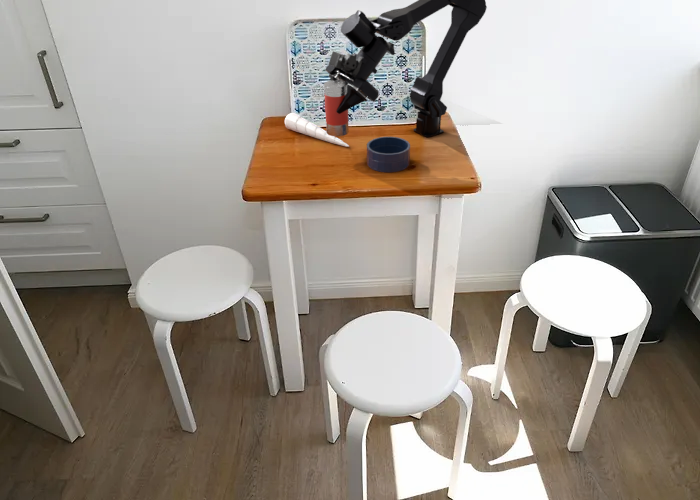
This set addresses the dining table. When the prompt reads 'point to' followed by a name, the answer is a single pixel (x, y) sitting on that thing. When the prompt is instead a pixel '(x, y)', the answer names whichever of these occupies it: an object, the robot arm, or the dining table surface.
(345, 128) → the tin
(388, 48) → the robot arm
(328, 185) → the dining table surface
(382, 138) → the pot
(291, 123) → the unicorn horn
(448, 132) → the dining table surface
